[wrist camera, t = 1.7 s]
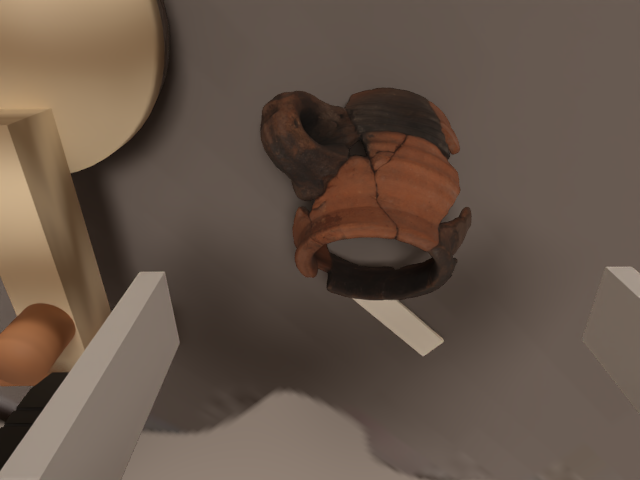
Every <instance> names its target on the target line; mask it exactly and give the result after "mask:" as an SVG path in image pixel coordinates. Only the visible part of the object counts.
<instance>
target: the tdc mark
mask: <svg viewBox="0 0 640 480" xmlns="http://www.w3.org/2000/svg"><path fill="white" fill-rule="evenodd" d="M352 299H353V300H355V301H356V302H357V303H358V304H360V305H361V306H362V307H363V308H364V309H366V310H367V311H368V312H369V313H371V314H372V315H373V316H374V317H375V318H377V319H378V320H379V321H380V322H382V323H383V324H384V325H385V326H386V327H388V328H389V329H390V330H391V331H393V332H394V333H395V334H396V335H397V336H399V337H400V338H401V339H402V340H404V341H405V342H406V343H407V344H408V345H410V346H411V347H412V348H413V349H414V350H416V351H417V352H418V353H419V354H421V355H422V356H425V355H426V354H427V353H429V352H430V351H432V350H433V349H435V348H436V347H437V346H439V345H440V344H442V343H443V342H444V340H443V338H442V337H441V336H439V335H438V334H437V333H436V332H435V331H434V330H432V329H431V328H430V327H429V326H428V325H427V324H425V323H424V322H423V321H422V320H421V319H420V318H418V317H417V316H416V315H415V314H414V313H413V312H411V311H410V310H409V309H408V308H407V307H406V306H404V305H403V304H402V303H401V302H400V301H399V300H363V299H354V298H352Z"/></svg>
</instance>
